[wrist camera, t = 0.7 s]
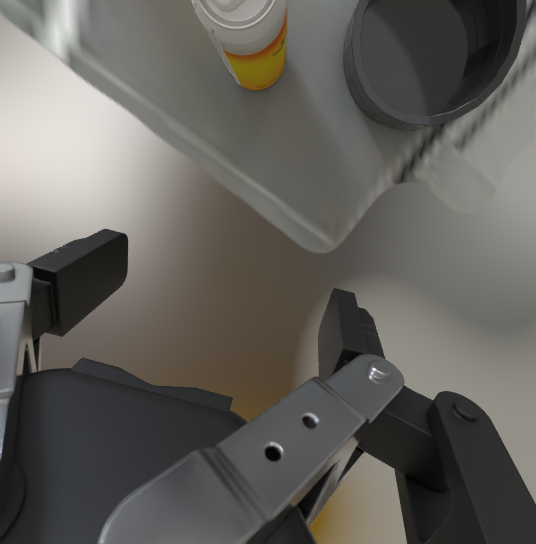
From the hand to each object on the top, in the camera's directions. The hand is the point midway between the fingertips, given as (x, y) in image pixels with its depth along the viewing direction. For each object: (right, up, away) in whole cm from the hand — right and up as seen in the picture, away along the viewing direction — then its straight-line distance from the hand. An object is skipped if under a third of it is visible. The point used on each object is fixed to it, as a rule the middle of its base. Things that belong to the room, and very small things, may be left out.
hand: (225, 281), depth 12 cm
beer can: (0, +22, +21) cm, 31 cm away
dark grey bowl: (+17, +22, +20) cm, 34 cm away
